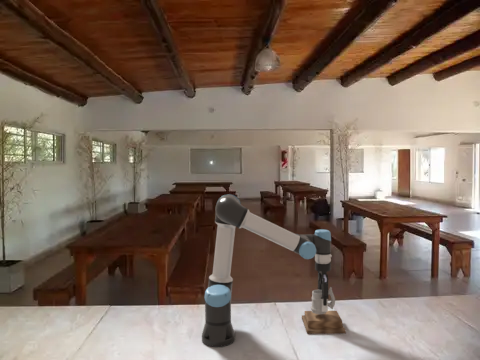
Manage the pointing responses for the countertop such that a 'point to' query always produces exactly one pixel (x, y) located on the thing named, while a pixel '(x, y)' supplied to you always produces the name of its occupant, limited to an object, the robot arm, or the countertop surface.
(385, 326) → the countertop surface
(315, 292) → the mug
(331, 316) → the plinth
